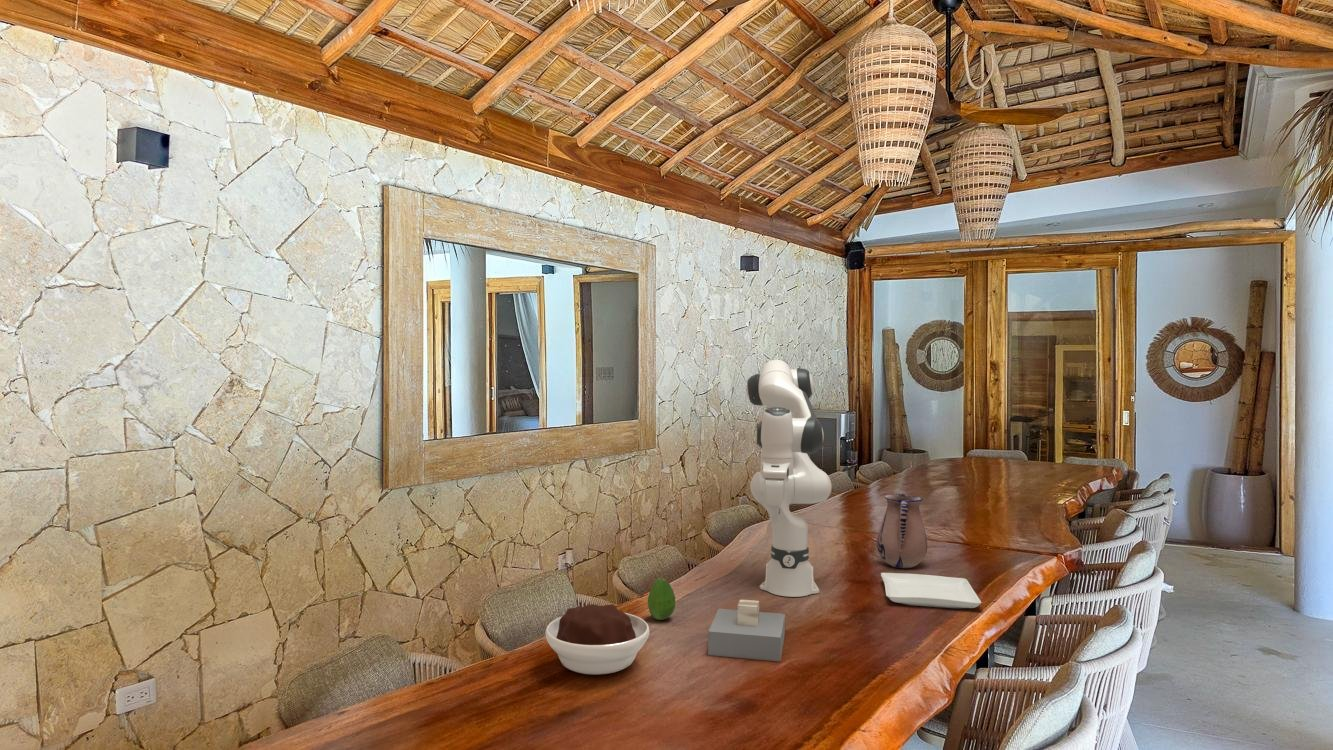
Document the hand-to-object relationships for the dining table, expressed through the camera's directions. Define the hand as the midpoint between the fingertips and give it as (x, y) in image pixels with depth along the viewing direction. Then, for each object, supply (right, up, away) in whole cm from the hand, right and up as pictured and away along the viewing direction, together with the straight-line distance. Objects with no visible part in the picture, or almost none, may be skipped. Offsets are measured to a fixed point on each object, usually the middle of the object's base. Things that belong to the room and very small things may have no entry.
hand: (776, 518), depth 215 cm
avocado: (-31, -31, +10) cm, 45 cm away
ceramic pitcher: (+55, -30, +68) cm, 92 cm away
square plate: (+53, -31, +34) cm, 70 cm away
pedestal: (-9, -31, -10) cm, 34 cm away
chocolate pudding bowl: (-46, -32, -24) cm, 61 cm away
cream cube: (-9, -25, -10) cm, 28 cm away
